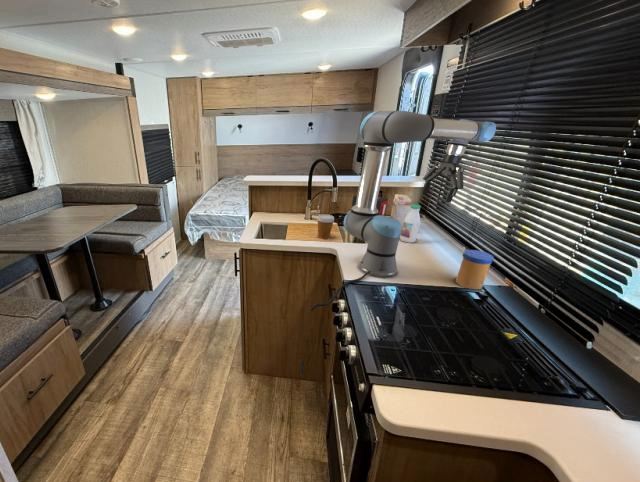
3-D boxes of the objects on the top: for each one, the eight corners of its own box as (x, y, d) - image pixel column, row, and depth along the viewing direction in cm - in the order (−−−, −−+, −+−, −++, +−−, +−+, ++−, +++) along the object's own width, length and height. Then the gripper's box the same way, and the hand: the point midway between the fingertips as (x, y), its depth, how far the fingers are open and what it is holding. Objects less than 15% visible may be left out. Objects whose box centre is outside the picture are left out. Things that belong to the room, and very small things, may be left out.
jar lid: (485, 266, 114) (487, 261, 113) (457, 257, 122) (459, 253, 121) (496, 260, 119) (498, 256, 118) (469, 252, 126) (470, 248, 125)
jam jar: (475, 291, 119) (486, 262, 114) (451, 282, 126) (459, 254, 121) (486, 285, 123) (496, 257, 118) (461, 276, 130) (470, 249, 125)
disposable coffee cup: (325, 241, 168) (328, 220, 163) (311, 236, 175) (313, 216, 170) (335, 237, 174) (338, 216, 169) (321, 232, 181) (323, 213, 176)
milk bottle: (412, 238, 172) (420, 203, 164) (418, 243, 165) (427, 207, 157) (397, 237, 173) (405, 203, 164) (403, 242, 166) (411, 207, 157)
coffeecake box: (388, 224, 194) (394, 194, 186) (400, 225, 192) (407, 194, 184) (391, 232, 181) (398, 199, 173) (405, 233, 179) (412, 200, 171)
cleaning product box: (348, 228, 187) (353, 196, 179) (355, 225, 193) (360, 193, 185) (375, 235, 177) (381, 201, 169) (381, 231, 182) (388, 198, 174)
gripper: (485, 160, 137) (464, 205, 145) (435, 152, 158) (419, 192, 166) (474, 158, 134) (454, 204, 143) (425, 150, 155) (410, 191, 163)
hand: (435, 198), depth 154 cm, fingers open, 13 cm apart
